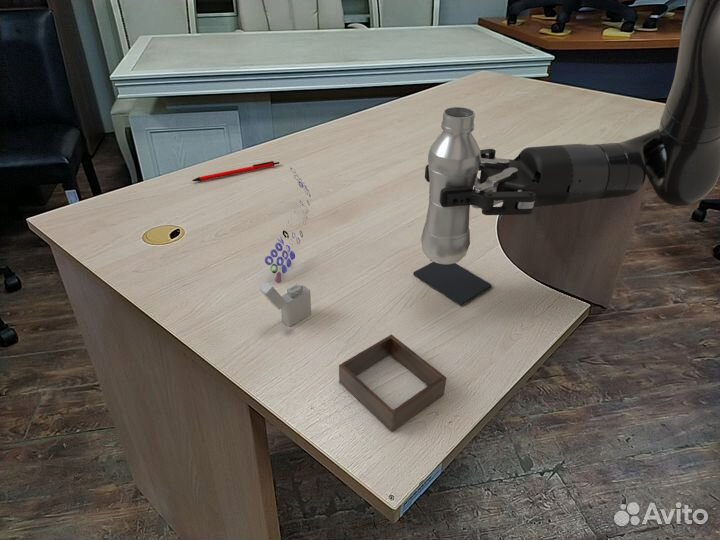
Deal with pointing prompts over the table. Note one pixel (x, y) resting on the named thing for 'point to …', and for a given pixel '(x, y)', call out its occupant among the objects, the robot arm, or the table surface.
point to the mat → (453, 281)
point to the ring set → (292, 254)
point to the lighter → (290, 302)
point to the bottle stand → (411, 362)
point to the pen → (236, 171)
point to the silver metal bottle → (450, 186)
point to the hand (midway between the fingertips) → (433, 185)
